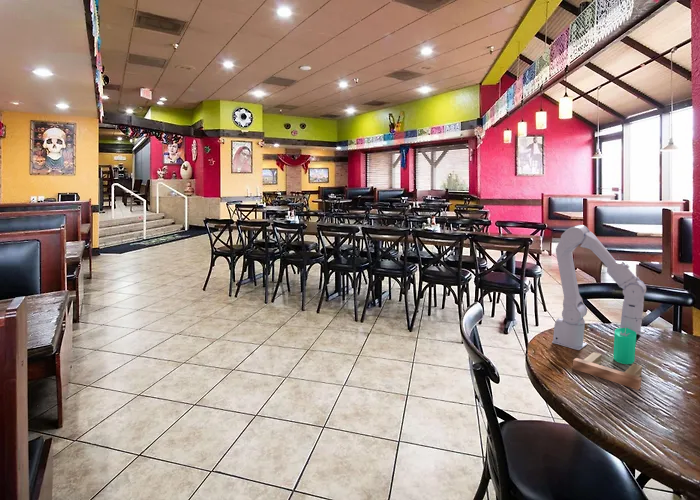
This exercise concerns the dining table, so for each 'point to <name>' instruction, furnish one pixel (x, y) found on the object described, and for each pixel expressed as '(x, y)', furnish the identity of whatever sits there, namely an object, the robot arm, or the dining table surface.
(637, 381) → the stand
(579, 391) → the dining table surface
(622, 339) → the candle
